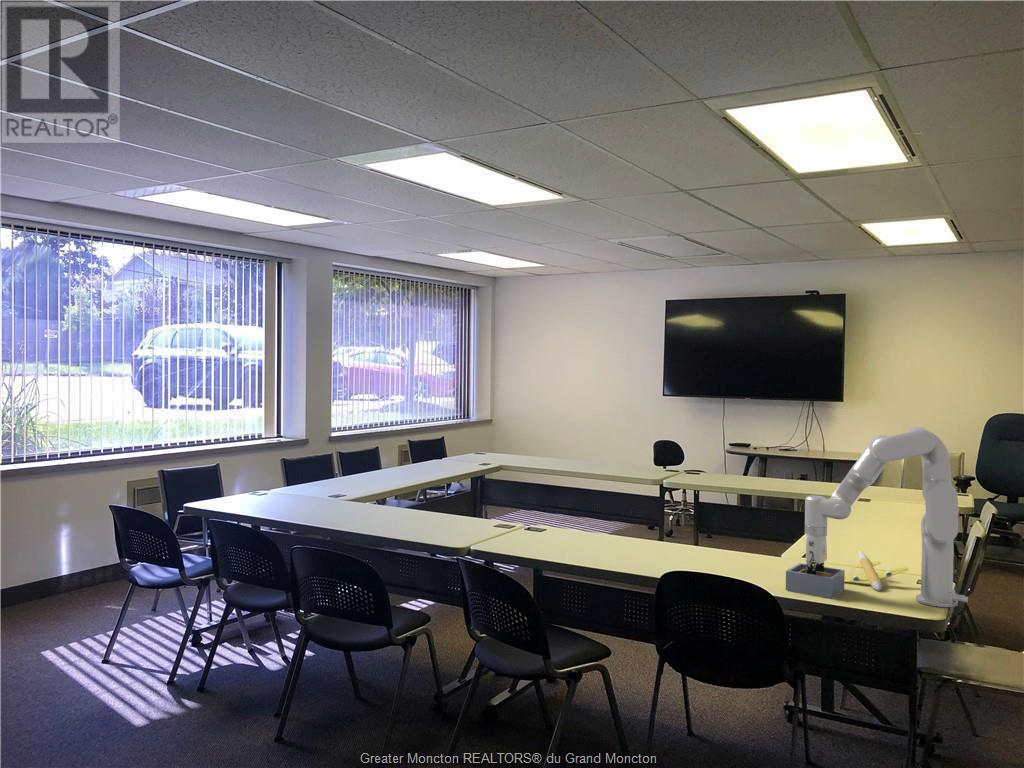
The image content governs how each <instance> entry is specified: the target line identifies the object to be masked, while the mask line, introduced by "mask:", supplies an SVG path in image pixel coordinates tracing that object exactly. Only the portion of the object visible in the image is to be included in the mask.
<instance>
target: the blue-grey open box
mask: <svg viewBox="0 0 1024 768" xmlns="http://www.w3.org/2000/svg"><path fill="white" fill-rule="evenodd" d="M806 564H807V563H801V562H799V563H797V564H795V565H794V566H792V567H789V569H786V570H785V591H786V590H788V591H787V592H792V591H794V592H793V593H797V592H799V593H798V594H803V595H809V596H815V597H820V598H821V597H822V598H826V599H834V598H836V597H837V596H838V595H839V594H840V593H841V591H842V590H843V589H844V590H845V582H844V578H845V577H846V576H845V574H846V573H845V572H846V571H845V569H840V568H833V567H828V566H826V567H825V566H824V572H825V573H831V574H834V575H833V576H832V577H824V576H818V575H812V574H806V573H800V572H799V571H801V570H802V569H806V567H807V566H806ZM806 570H807V569H806ZM844 590H843V591H844ZM843 591H842V592H843ZM838 593H839V594H838ZM837 594H838V595H837Z"/></svg>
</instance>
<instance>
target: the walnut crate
mask: <svg viewBox="0 0 1024 768" xmlns="http://www.w3.org/2000/svg"><path fill="white" fill-rule="evenodd" d="M799 572H800V573H806V572H807V570H806V569H802V570H801V571H799ZM816 575H818V576H824V577H832V576H833V575H834V574H831V573H825V572H818V571H816Z"/></svg>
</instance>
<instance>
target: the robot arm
mask: <svg viewBox="0 0 1024 768" xmlns="http://www.w3.org/2000/svg"><path fill="white" fill-rule="evenodd" d="M915 457H920V459H921V467H922V491H921V493H922V498H923V499H924V500H925V501H924V502H925V504H924V505H925V513H924V514H923V516H922V518H921V522H920V533H921V563H920V564H921V566H920V567H921V569H920V572H921V576H920V578H921V579H920V594H917V595H916V596H915V600H916V601H917V602H918V603H921V604H922V605H927V606H931V607H936V606H937V608H954V607H955V608H956V607H957V606H959V602H961V603H966V604H967V603H968V598H969V597H968V596H965V595H964V594H958V593H956V589H954V556H955V555H954V553H955V552H954V546H955V545H954V540H955V538H956V537H957V535H958V533H959V498H958V496H959V495H958V492H957V490H956V489H955V487H954V485H952V470H951V469H952V467H951V458H950V457H951V456H950V452H949V451H948V448H947V445H946V444H944V442H943V441H942V440H941V439H940V438H939V436H937V435H936V434H935V433H934V432H932V431H930V430H928V429H926V428H922V427H916V426H915V427H913V428H910V429H909V430H908V431H907V432H903V433H898V434H894V435H889V436H887V435H877V436H874V438H873V439H872V440H871V441H870V442H869V443H868V445H867V446H866V448H865V449H864V450H863V452H862V453H861V455H860V456H859V457H858V459H857V460H856V462H855V463H854V464H853V465H852V467H851V468H850V469H849V471H848V472H847V474H846V476H845V477H844V478H843V480H842V481H841V482H840V483H839V485H838V486H837V488H836V489H835V490H834V492H833V493H832V494H831V496H830V497H829V498H827V497H825V496H824V495H814V494H813V495H807V496H806V497H805V499H804V500H805V501H804V535H806V540H805V541H806V544H805V561H806V563H805V564H806V566H807V567H806V569H807V572H806V574H812V575H816V571H818V572H824V567H825V562H826V561H827V560H828V551H827V550H828V547H827V546H828V544H827V542H828V541H827V536H828V518H829V519H835V520H845V519H847V518H848V517H849V516H850V515H851V512H852V505H854V503H855V502H856V500H857V499H858V498H859V496H860V495H862V493H863V492H864V490H866V489H867V488H868V487H870V486H871V485H873V483H875V482H876V480H877V479H878V477H879V476H880V475H881V473H882V472H883V470H884V469H885V468H886V467H887V465H888V464H889V462H894V461H900V460H904V459H905V460H906V459H908V458H909V459H911V458H915Z"/></svg>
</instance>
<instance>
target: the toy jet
mask: <svg viewBox="0 0 1024 768" xmlns="http://www.w3.org/2000/svg"><path fill="white" fill-rule="evenodd" d="M858 557H859V558H858V559H859V562H860V563H859V564H853V565H851V566H852V568H853V569H854V568H855V569H861V568H862V569H863V571H864V574H858V575H853V576H852V575H851V576H845V578H844V583H847V582H848V583H849V582H851V583H852V582H865V581H867V582H869V584H870V586H871V588H872V589H873V590H874V589H875V591H877V592H880V591H881V590H882V587H883V585H882V582H881V579H884V578H890V577H892V576H894V575H898V574H901V573H905V572H909V571H910V569H909V567H908V566H906V567H905V566H904V567H901V568H899V567H898V568H895V569H890V570H883V571H879V572H876V570H875V566H877V565H879V564H882V562H881V561H880V560H877V561H871V560H870V559H869V557H868V556H867V554H865V553H864V552H863V551H862V550H858Z"/></svg>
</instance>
